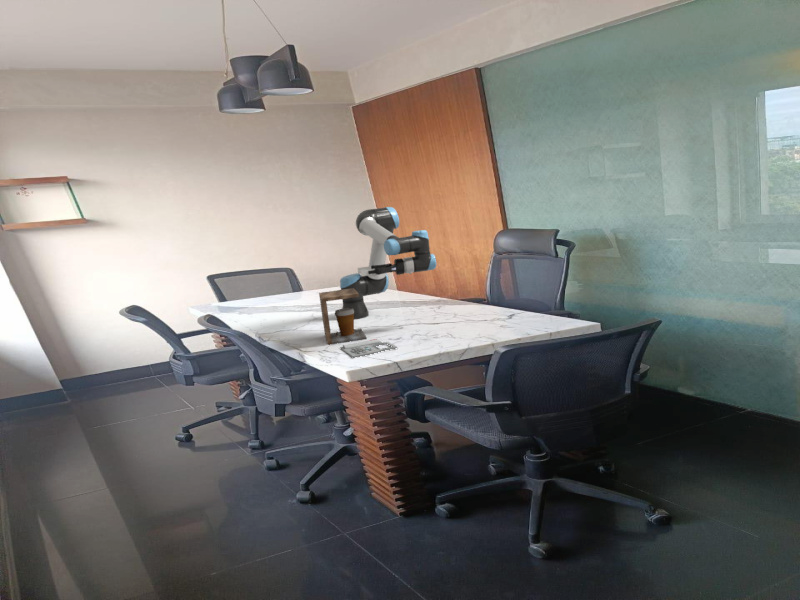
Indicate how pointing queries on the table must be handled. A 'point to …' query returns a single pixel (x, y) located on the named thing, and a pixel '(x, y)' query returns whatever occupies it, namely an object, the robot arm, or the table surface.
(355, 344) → the office telephone
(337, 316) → the disposable coffee cup
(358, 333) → the walnut overhang shelf
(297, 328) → the table surface
